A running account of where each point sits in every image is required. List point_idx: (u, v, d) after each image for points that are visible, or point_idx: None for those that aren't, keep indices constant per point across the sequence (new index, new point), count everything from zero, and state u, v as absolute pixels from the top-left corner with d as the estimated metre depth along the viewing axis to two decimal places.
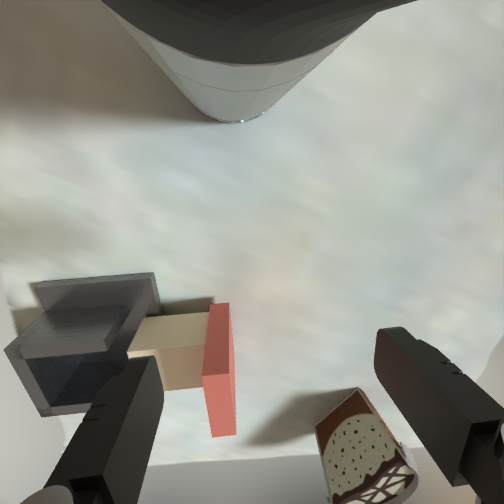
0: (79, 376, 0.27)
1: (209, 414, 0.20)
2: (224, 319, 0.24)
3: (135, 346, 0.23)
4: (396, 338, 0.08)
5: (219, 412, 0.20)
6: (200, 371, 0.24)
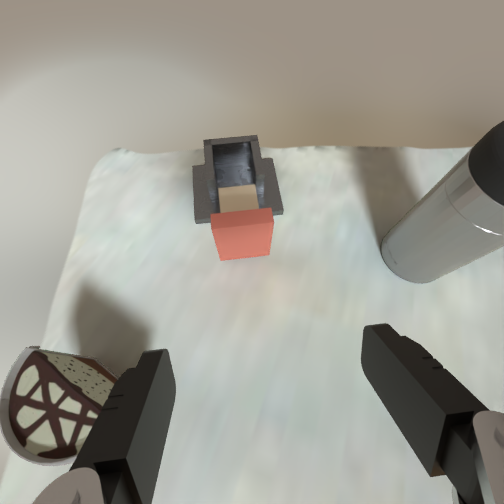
0: None
1: (235, 212, 0.29)
2: None
3: None
4: (381, 334, 0.08)
5: (236, 217, 0.29)
6: None
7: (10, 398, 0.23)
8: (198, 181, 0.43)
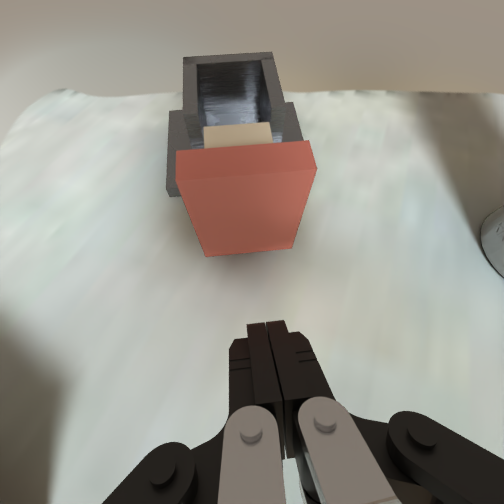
0: (202, 104, 0.26)
1: (231, 147, 0.13)
2: None
3: None
4: (271, 330, 0.09)
5: (233, 158, 0.13)
6: None
7: None
8: (176, 132, 0.27)
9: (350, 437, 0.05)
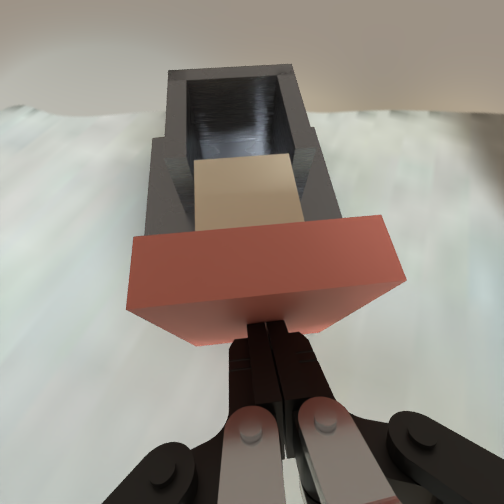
0: (196, 133, 0.19)
1: (237, 230, 0.07)
2: None
3: None
4: (271, 330, 0.09)
5: (242, 255, 0.07)
6: None
7: None
8: (161, 168, 0.20)
9: (350, 437, 0.05)
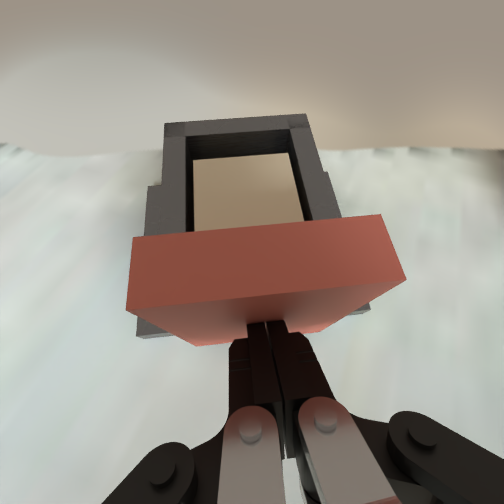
0: None
1: (237, 230, 0.07)
2: None
3: None
4: (272, 330, 0.09)
5: (242, 255, 0.07)
6: None
7: None
8: (157, 224, 0.18)
9: (350, 437, 0.05)
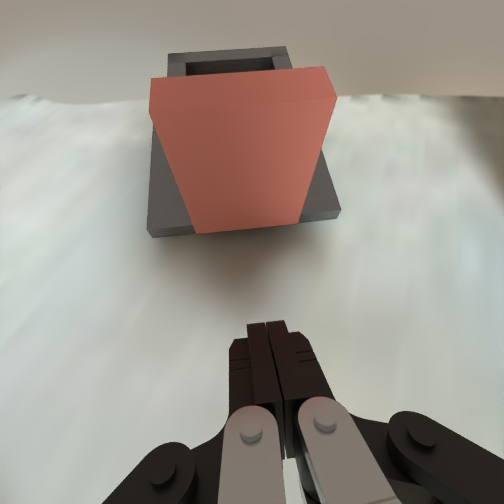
0: None
1: (223, 74, 0.10)
2: None
3: None
4: (271, 330, 0.09)
5: (226, 86, 0.10)
6: None
7: None
8: (162, 150, 0.21)
9: (350, 437, 0.05)
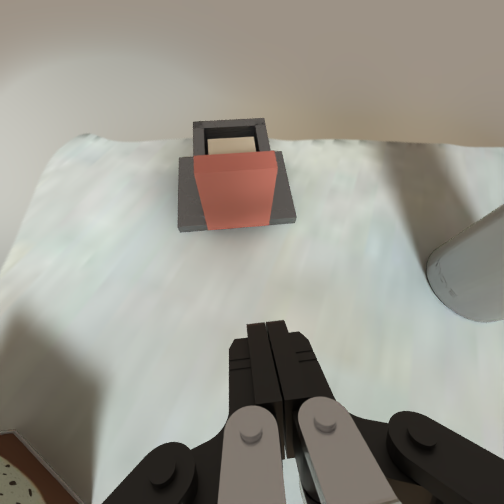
0: None
1: (226, 154, 0.22)
2: None
3: None
4: (271, 330, 0.09)
5: (228, 160, 0.22)
6: None
7: None
8: (185, 177, 0.33)
9: (350, 437, 0.05)
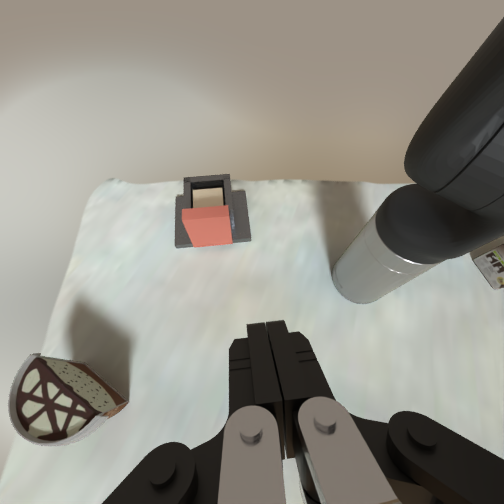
0: None
1: (200, 208, 0.39)
2: (231, 234, 0.44)
3: (222, 192, 0.46)
4: (271, 330, 0.09)
5: (201, 212, 0.38)
6: None
7: (17, 394, 0.29)
8: (180, 210, 0.50)
9: (350, 437, 0.05)
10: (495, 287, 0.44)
